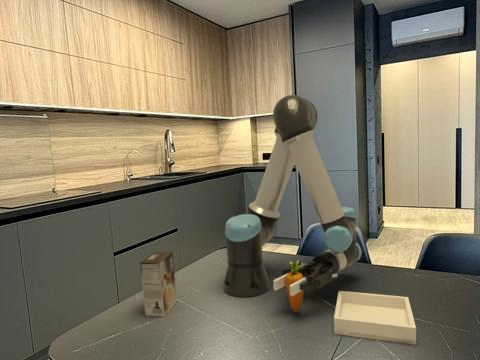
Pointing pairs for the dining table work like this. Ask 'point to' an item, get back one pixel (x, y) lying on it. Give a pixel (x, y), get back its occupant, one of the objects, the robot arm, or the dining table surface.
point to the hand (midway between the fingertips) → (282, 288)
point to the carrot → (290, 279)
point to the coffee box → (158, 283)
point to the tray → (375, 317)
